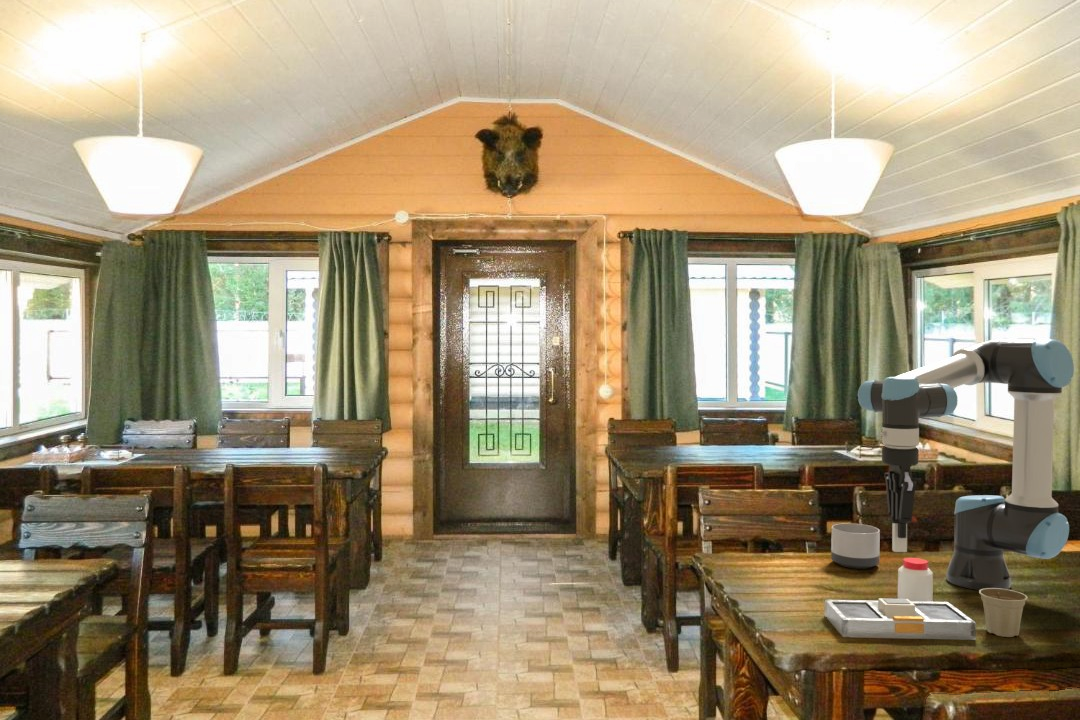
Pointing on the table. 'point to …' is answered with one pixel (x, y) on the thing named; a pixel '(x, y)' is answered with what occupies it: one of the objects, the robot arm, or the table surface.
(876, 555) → the planter
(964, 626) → the tray
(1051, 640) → the table surface
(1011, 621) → the flower pot
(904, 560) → the pill bottle
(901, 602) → the white block
